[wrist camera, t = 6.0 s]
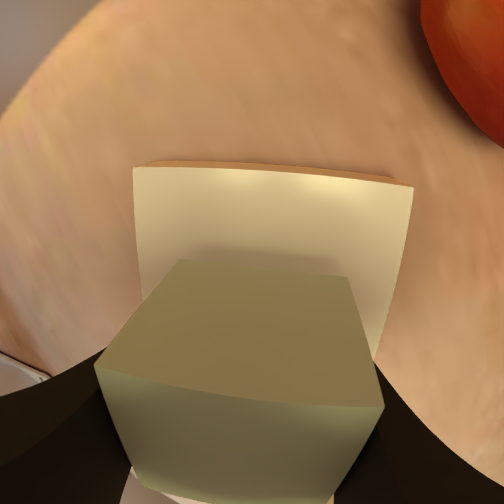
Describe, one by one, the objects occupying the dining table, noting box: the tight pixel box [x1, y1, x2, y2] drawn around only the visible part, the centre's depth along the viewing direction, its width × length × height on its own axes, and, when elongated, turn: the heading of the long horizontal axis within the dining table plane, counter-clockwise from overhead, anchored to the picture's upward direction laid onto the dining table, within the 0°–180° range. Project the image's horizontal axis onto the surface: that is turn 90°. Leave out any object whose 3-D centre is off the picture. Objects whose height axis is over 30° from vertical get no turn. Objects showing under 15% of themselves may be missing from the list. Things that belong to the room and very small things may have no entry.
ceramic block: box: [133, 161, 414, 360], centre depth 13 cm, size 10×10×3 cm
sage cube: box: [94, 259, 385, 504], centre depth 8 cm, size 5×5×5 cm
